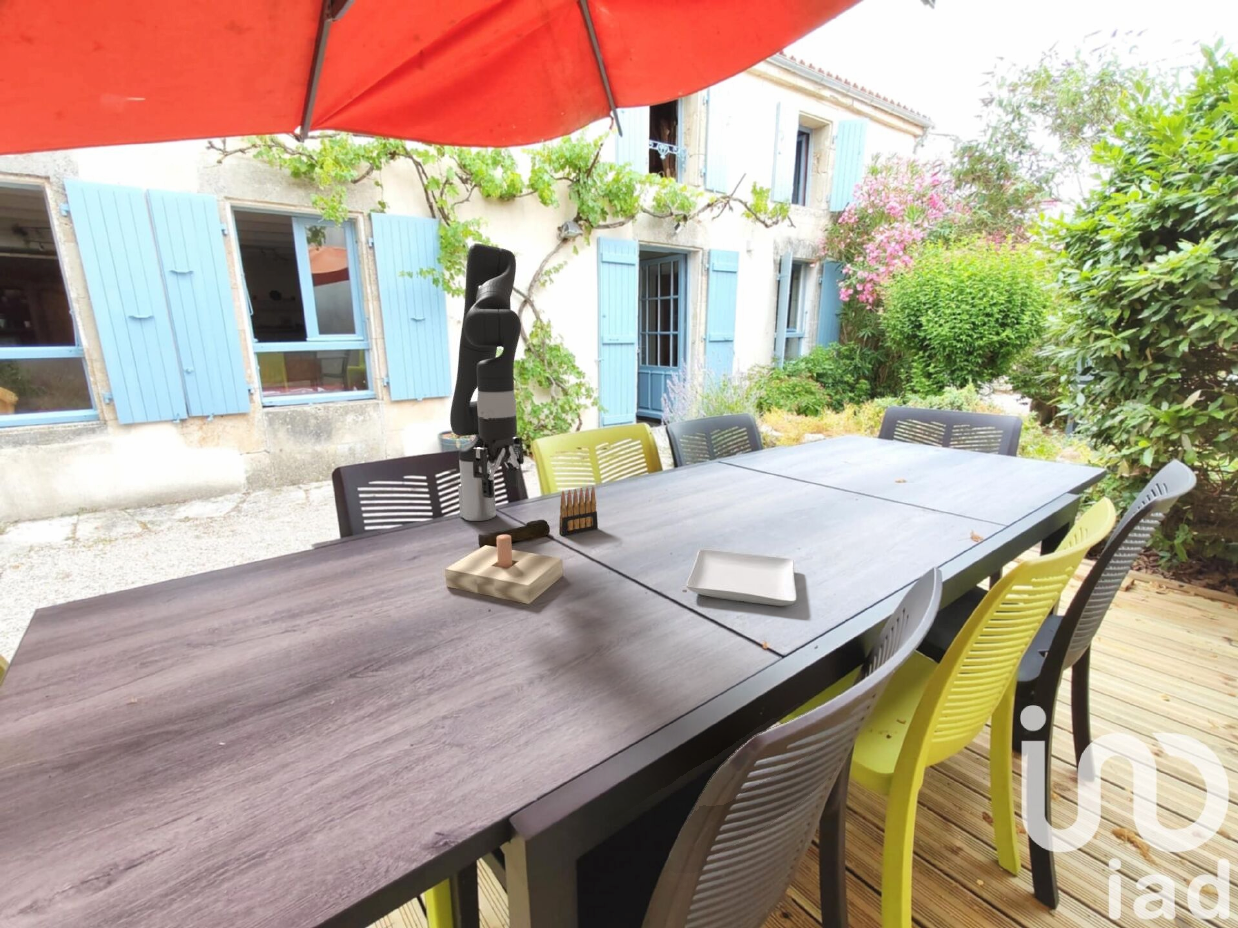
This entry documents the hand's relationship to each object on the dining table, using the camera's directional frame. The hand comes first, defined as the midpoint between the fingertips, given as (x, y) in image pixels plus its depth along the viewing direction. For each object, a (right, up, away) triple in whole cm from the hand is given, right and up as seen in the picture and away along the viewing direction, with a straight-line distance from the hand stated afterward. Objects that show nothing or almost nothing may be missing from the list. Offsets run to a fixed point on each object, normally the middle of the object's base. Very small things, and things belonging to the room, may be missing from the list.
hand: (501, 491), depth 112 cm
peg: (0, -19, +4) cm, 20 cm away
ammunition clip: (+14, -13, +34) cm, 39 cm away
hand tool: (-2, -14, +27) cm, 31 cm away
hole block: (0, -19, +5) cm, 20 cm away
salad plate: (+50, -20, +3) cm, 54 cm away
